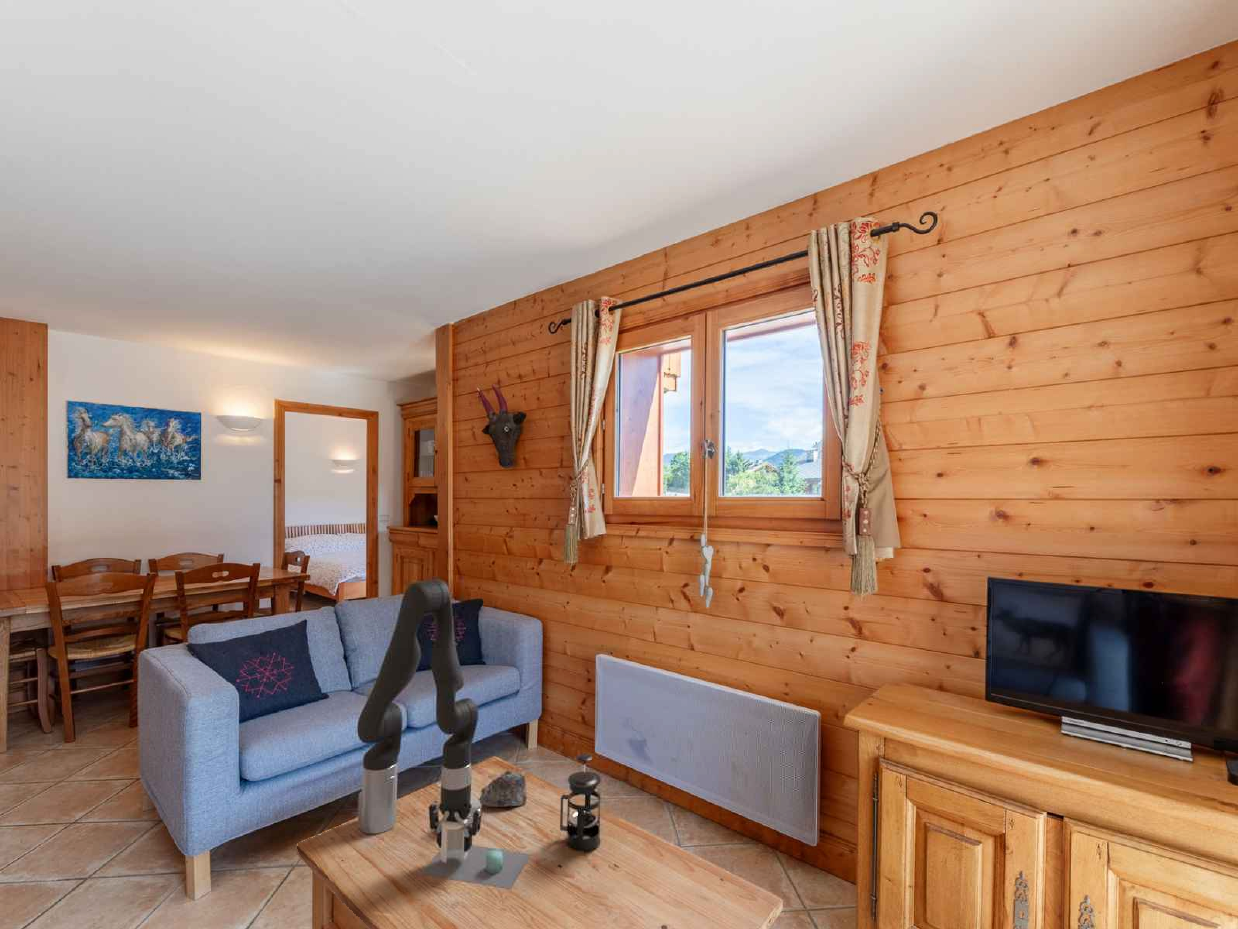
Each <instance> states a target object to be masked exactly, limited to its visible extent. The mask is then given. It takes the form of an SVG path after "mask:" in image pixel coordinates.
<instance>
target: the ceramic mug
mask: <svg viewBox="0 0 1238 929" xmlns="http://www.w3.org/2000/svg"><path fill="white" fill-rule="evenodd" d="M479 799H480V797H478V796H477V795H476V794H472V793H471V799H470V803H471V806H472V807H473V808H477V809H478V808H479V807H481V808H482V809H483V807H482V804H481V802H480V800H479ZM469 817H470V819H471V824H473V818H472V814H471V813H469Z"/></svg>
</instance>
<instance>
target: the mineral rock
mask: <svg viewBox="0 0 1238 929" xmlns="http://www.w3.org/2000/svg"><path fill="white" fill-rule="evenodd" d="M526 783H527V782H526V775H525V772H524V771H515V770H514V769H507V770H506V771H503V773H502V774H501V775H500V776H498V777H496V778H494V779H493V780H491V782H490V783H489V784H488V785H487V786H484V787H483V788H482V789H481V790H480V793H481V794H480V797H479V800H480V802H481V805H484V806H487V807H494V808H497V807H498V808H499V807H508V806H509V807H513V806H514V807H517V806H522V805H523V806H524V805H525V804H526V803H527V792H526V791H527V787H526V786H527V784H526Z"/></svg>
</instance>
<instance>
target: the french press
mask: <svg viewBox="0 0 1238 929" xmlns="http://www.w3.org/2000/svg"><path fill="white" fill-rule="evenodd" d="M576 758H577V760H578V761H580V762H582V764H583V771H578V772H575V773H572V774H570V776H569V777H568V778H567V780H568V785H569V790H570V791H571V792H570V793H569V794H562V795H561V797H560V813H559V814H560V820H559V821H560V822H559V823H560V824H559V830H560V831H564V832H566V840H565V843H566V846H567V847H569V849H571V850H574V851H576V852H583V853H590V852H593V851H595V850H597V849H598V848H599V847H600V845H601V837H600V836H601V801H602V800H601V795H600V793H599V792H597V791H596V788H597V787H598V786H599V784H601V782H602V778H601V775H599V774H598V773H595V772H592V771H586V765H587V763H588V762H589V761H592V760H593V756H592V755H591V754H588V753H583V754H579V755H578V756H577V757H576ZM578 795H579V796H580V795H581V796H582V795H583V802H582V803H583V805H579V804H575V803H573V802H572V801H571V798H573V797H576V796H578ZM591 796H593V797H595V798H597V799H598V800H597V802H595V803H593V804H592V803H591ZM564 800H567V811H566V812H567V813H566V814H567V819H566V820H567V822H566V824H567V825H566V826H565V825H564V824H563V823H564V822H563V821H564ZM597 808H598V813H596V811H593V810H595V809H597ZM570 809H572V810H575V811H573V812H572V813H570ZM584 835H589V836H592V837H590V838H584ZM575 836H576V837H575Z"/></svg>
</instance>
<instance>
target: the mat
mask: <svg viewBox="0 0 1238 929" xmlns="http://www.w3.org/2000/svg"><path fill="white" fill-rule="evenodd" d="M492 850H499V851H501V852H502V853H503V858H502V870H501V872H499V873H497V874H489V873H487V872H486V855H487V853H488V852H490V851H492ZM462 853H463V851H462V850H458V849H455V850H450V851H448V852H447V862H446V863H444V862H443V861H442V860H441V849H440V850H439V851H438V852H437V853H436V854H435V856H434V857H433V858H432V859H431V860H430V861H429V863H428V864H427V865H426V866H425V867H424V869H423V870H422V871H420V874H419V875H425V876H429V877H430V876H431V877H436V878H441V879H447V880H448V879H449V880H453V881H454V880H455V881H459V882H466V883H472V884H478V885H483V886H489V887H495V888H502V889H507V890H512V889H513V887H514V886H515V883H516V881H517V880H518V879H519V877H520V875H521V873H522V872H523V870H524V868H525V866H526V864H527V863H528V862H529V859H530V858H531V856H532V853H526V852H520V851H513V850H506V849H500V848H495V847H494V848H493V847H487V846H481V845H480V846H479V845H476V844H472V846H471V847H470V849H469V850H468V851H467V857H466V858H465V859H464V860H463V859H462Z"/></svg>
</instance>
